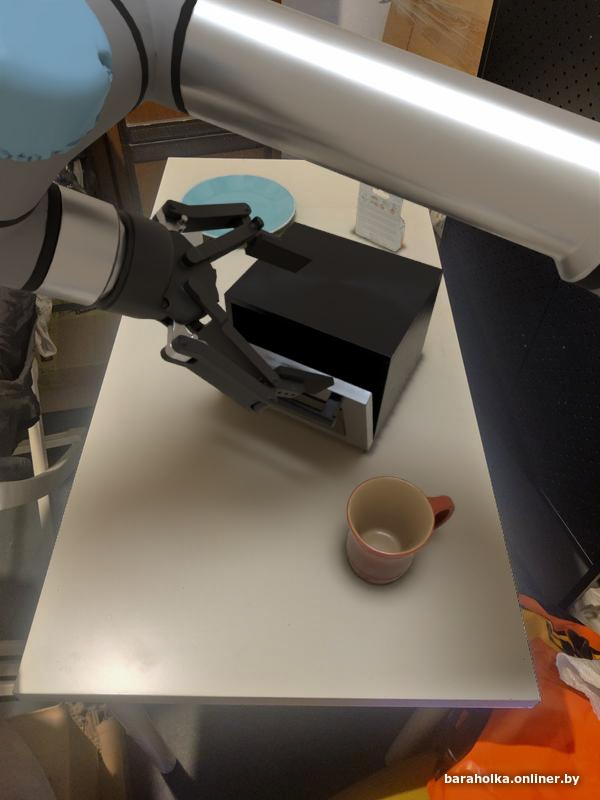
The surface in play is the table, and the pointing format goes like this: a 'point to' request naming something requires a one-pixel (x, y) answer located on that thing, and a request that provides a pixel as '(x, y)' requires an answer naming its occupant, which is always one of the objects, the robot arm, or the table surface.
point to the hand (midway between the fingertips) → (313, 322)
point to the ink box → (380, 218)
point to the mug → (390, 526)
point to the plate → (245, 199)
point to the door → (327, 405)
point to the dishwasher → (340, 312)
